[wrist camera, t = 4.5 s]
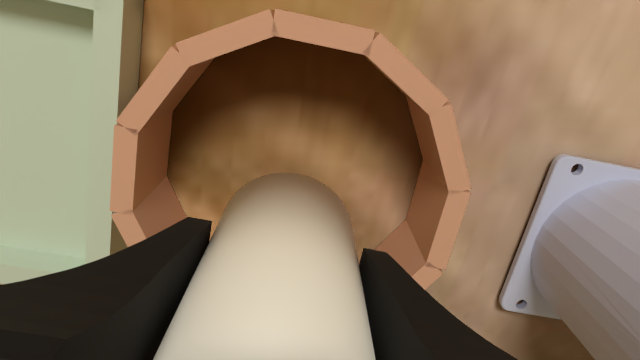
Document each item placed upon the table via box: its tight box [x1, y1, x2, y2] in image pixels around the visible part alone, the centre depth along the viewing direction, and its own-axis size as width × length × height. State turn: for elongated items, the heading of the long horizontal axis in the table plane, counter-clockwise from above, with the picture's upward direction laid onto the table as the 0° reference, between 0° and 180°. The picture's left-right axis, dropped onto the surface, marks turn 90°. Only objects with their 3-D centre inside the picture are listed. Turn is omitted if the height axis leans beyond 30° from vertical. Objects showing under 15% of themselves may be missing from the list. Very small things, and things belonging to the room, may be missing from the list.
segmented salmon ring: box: [110, 9, 471, 290], centre depth 18 cm, size 13×13×4 cm
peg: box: [153, 173, 376, 360], centre depth 10 cm, size 4×4×7 cm
